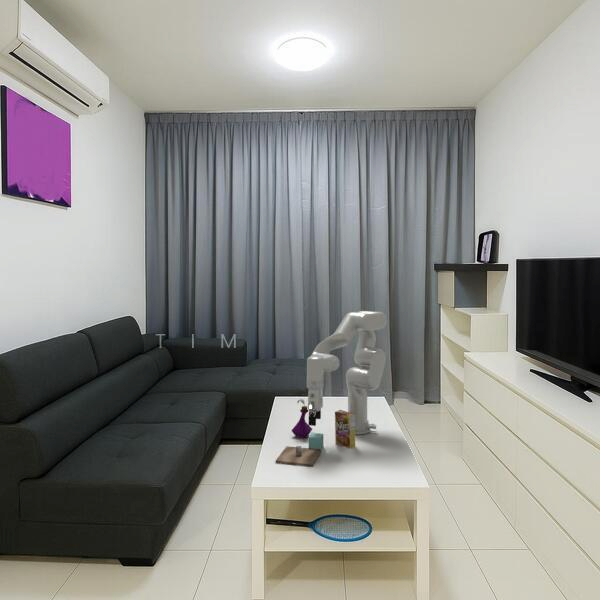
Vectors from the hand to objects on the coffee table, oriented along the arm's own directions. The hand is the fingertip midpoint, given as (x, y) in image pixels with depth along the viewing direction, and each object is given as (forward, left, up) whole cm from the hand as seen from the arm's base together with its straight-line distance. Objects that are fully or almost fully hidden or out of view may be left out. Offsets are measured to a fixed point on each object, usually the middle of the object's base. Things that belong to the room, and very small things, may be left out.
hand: (314, 422), depth 205 cm
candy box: (-12, -8, -13) cm, 19 cm away
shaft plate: (+5, +10, -12) cm, 17 cm away
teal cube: (0, -1, -12) cm, 12 cm away
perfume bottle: (+10, -14, -13) cm, 21 cm away
